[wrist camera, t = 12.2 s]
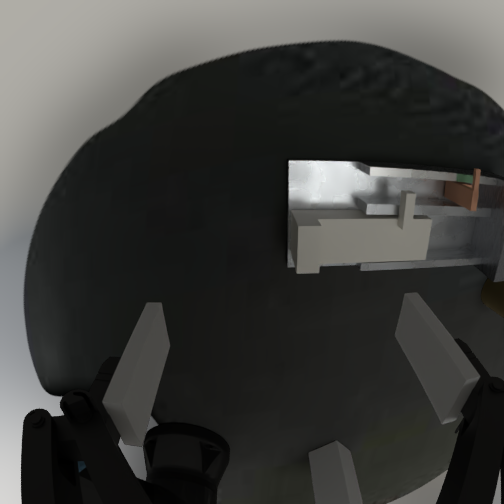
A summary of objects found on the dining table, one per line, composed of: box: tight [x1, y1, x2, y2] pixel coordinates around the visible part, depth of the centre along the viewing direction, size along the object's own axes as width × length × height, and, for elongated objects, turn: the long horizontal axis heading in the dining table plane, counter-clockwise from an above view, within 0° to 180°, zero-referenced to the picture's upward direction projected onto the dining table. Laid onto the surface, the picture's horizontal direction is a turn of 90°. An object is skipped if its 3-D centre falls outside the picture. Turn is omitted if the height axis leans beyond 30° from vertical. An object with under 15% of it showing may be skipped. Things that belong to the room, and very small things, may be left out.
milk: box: [308, 440, 363, 504], centre depth 40 cm, size 6×6×22 cm
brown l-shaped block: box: [444, 168, 481, 211], centre depth 27 cm, size 2×4×5 cm, turn 2°
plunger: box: [290, 190, 432, 274], centre depth 29 cm, size 14×7×5 cm, turn 91°
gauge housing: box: [287, 159, 504, 282], centre depth 29 cm, size 26×11×7 cm, turn 91°
